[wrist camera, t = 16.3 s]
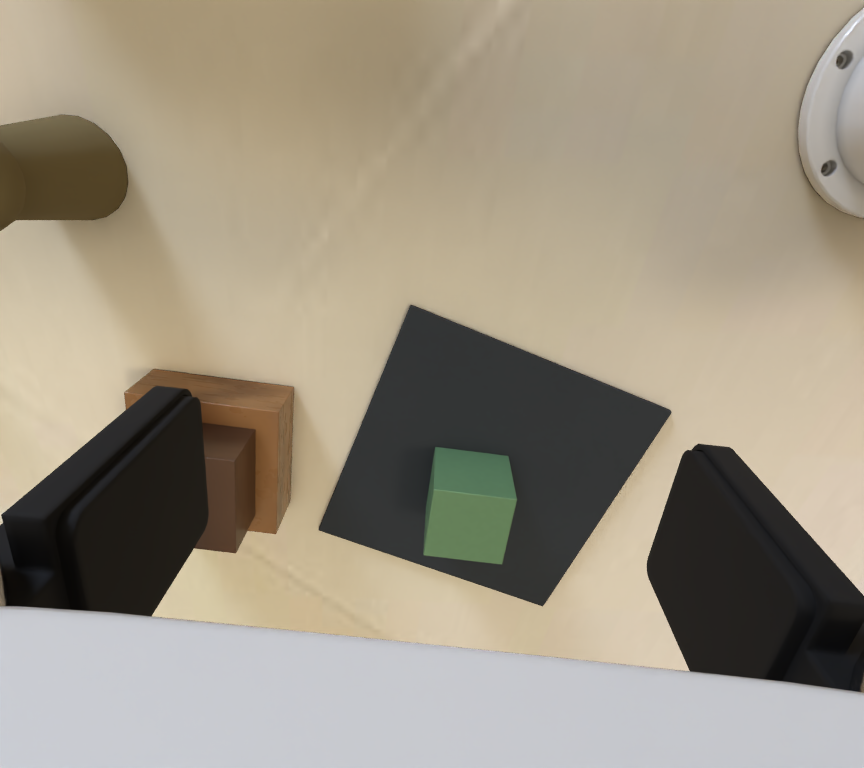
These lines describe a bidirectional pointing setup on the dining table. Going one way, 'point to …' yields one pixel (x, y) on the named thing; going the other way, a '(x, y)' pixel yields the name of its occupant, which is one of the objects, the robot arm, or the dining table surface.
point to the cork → (59, 171)
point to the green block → (469, 506)
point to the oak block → (244, 409)
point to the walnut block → (228, 486)
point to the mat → (489, 451)
